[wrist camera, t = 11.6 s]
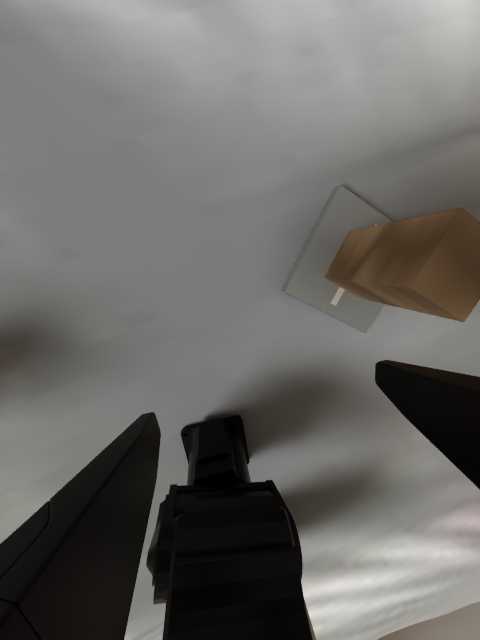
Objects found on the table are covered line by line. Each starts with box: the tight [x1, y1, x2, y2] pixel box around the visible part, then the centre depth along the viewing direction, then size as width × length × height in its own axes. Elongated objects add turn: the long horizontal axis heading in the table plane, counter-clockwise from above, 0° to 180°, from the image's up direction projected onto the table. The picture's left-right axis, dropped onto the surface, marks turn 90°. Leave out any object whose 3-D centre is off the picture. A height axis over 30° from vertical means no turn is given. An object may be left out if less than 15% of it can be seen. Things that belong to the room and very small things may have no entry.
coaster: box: [281, 185, 392, 333], centre depth 21 cm, size 10×10×1 cm
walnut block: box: [324, 207, 480, 322], centre depth 16 cm, size 4×4×9 cm
